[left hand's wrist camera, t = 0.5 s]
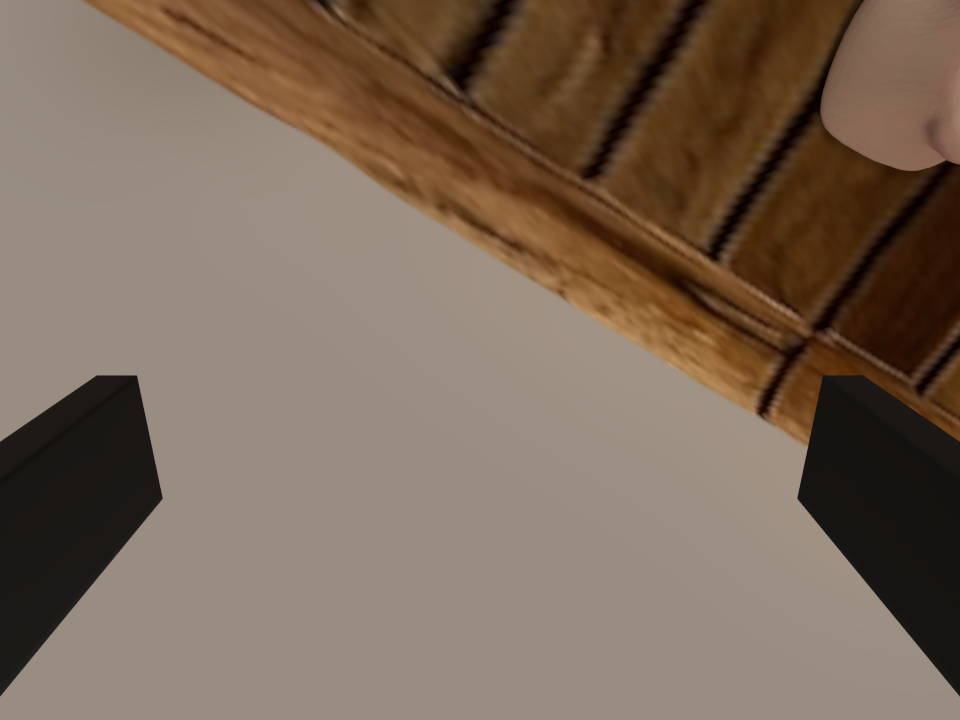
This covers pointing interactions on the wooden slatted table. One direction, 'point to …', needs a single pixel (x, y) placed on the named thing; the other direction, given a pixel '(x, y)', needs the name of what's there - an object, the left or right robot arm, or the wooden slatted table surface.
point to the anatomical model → (898, 83)
